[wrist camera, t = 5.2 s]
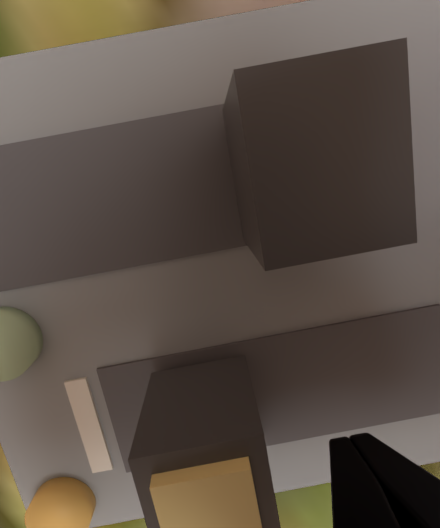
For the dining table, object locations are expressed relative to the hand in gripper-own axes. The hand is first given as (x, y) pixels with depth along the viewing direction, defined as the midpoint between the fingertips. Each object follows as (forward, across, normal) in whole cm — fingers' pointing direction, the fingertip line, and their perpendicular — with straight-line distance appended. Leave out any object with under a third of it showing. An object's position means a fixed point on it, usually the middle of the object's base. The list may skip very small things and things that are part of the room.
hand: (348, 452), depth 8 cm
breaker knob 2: (+2, 0, -6) cm, 6 cm away
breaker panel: (+4, -2, -3) cm, 5 cm away
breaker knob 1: (+2, +3, 0) cm, 4 cm away
